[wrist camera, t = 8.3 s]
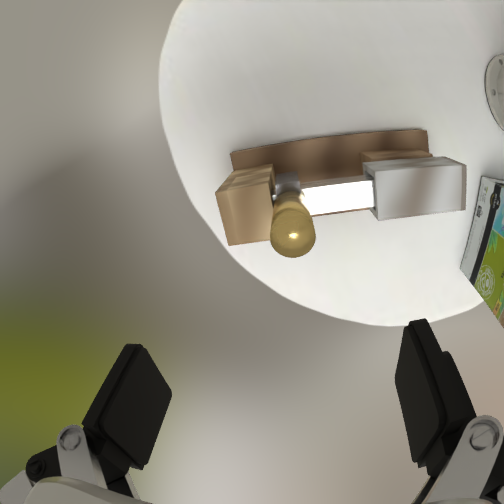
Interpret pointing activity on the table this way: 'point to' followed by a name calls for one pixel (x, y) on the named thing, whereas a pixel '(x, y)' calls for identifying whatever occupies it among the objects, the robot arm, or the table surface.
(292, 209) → the brass knob sliding bolt
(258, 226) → the socket block
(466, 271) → the tea box
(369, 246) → the table surface
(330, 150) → the base
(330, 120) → the table surface
